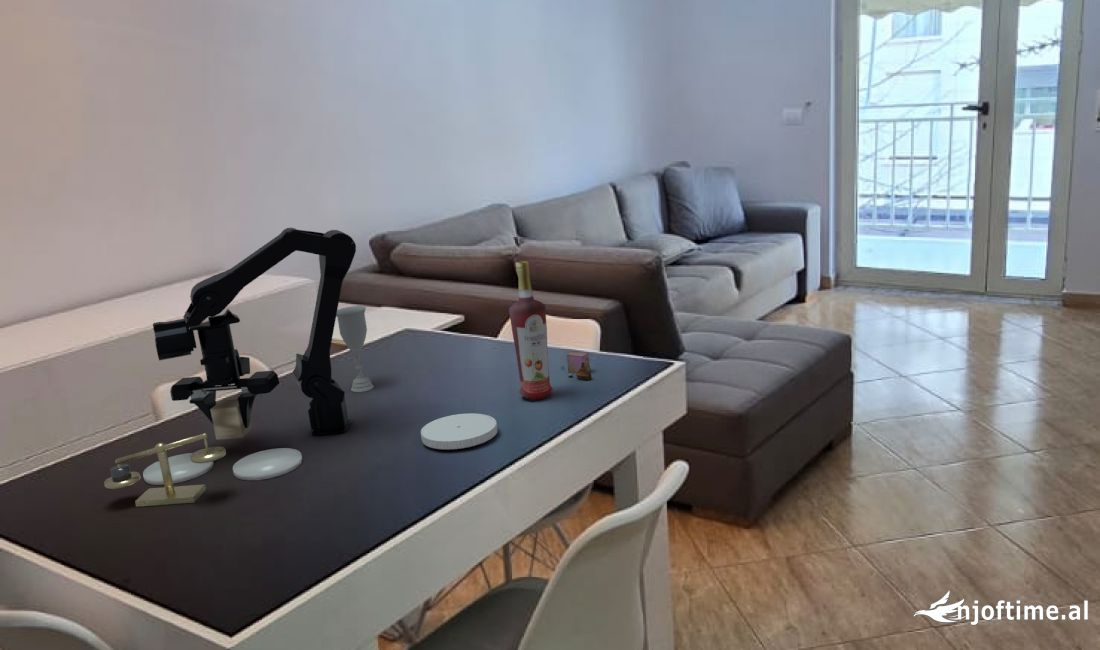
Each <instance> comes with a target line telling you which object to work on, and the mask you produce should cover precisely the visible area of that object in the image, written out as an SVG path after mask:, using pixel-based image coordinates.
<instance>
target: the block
mask: <svg viewBox="0 0 1100 650" xmlns="http://www.w3.org/2000/svg"><path fill="white" fill-rule="evenodd" d="M210 411H211V416H212V420H213V424H212V426H213V430H214V435H215V440H217V441H219V440H230V439H242V438H244V437H245V435H247V434H248V433H249V432H250V430H251V429H253V428H252V427H253V426H252V420H251V419H250V423H249V427H248V428H245V426H244V424H243V421H242V416H241V412H240V407H239V403H238V398H234V399H222V400H221V399H220V400H219V401H218V402H216V405H215V406H214V407H213V408H211V409H210Z"/></svg>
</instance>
